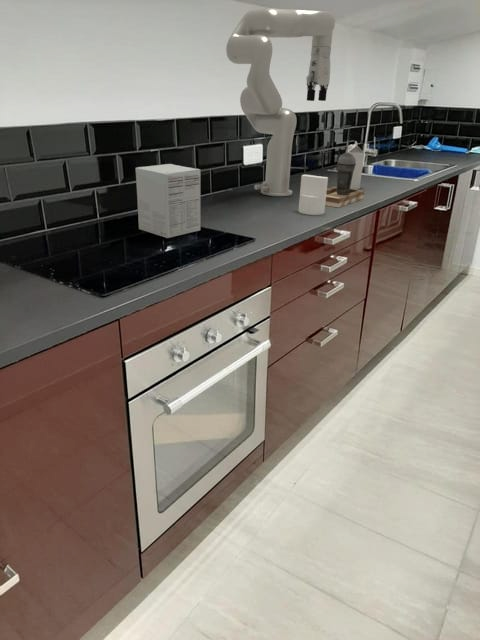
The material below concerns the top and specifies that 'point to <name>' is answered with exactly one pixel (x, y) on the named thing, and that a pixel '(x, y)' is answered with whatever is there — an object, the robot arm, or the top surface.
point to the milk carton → (358, 167)
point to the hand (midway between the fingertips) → (316, 100)
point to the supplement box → (168, 199)
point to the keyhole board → (342, 197)
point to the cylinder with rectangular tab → (313, 194)
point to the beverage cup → (345, 172)
